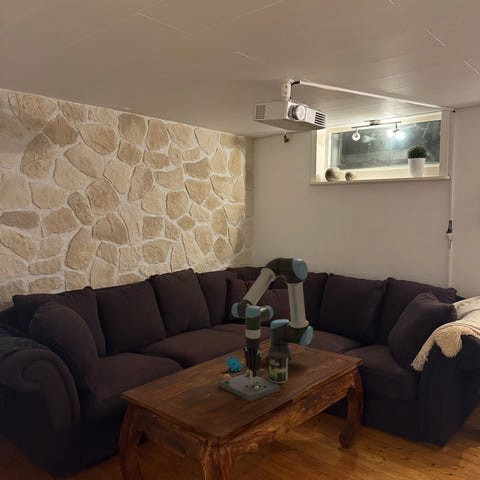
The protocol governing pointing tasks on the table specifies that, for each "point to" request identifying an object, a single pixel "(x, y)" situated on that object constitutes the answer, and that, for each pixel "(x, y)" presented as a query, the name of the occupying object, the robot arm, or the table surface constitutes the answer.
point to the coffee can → (278, 367)
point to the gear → (234, 363)
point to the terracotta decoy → (227, 378)
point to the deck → (249, 387)
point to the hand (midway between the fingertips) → (252, 382)
